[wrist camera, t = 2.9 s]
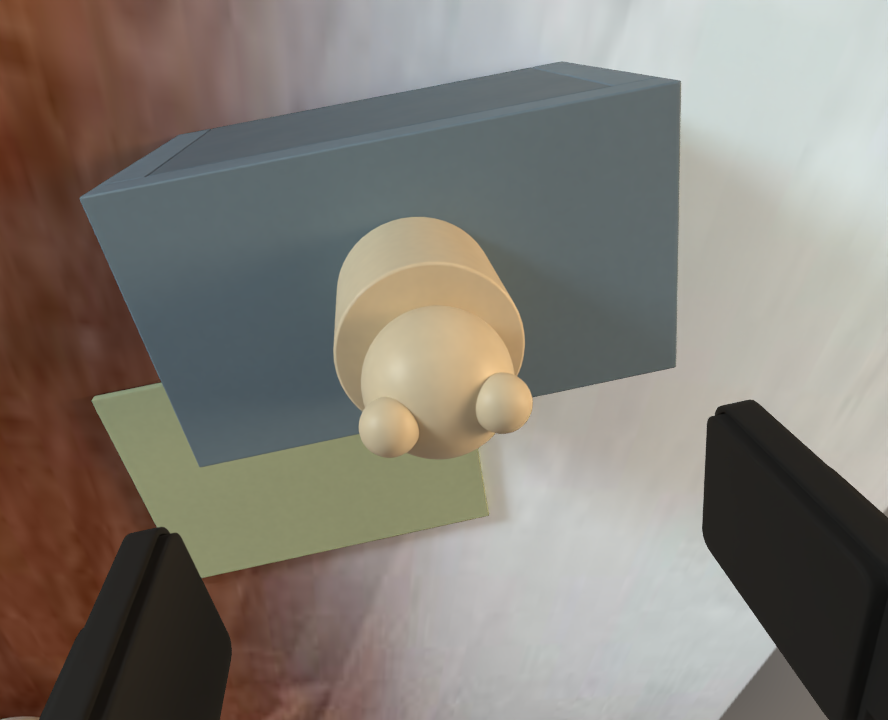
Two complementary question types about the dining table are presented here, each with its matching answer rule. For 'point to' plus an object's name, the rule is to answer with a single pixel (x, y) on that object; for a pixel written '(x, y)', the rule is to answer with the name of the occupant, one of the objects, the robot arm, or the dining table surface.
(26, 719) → the egg with bunny ears
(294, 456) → the mat
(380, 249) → the bear
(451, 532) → the dining table surface
